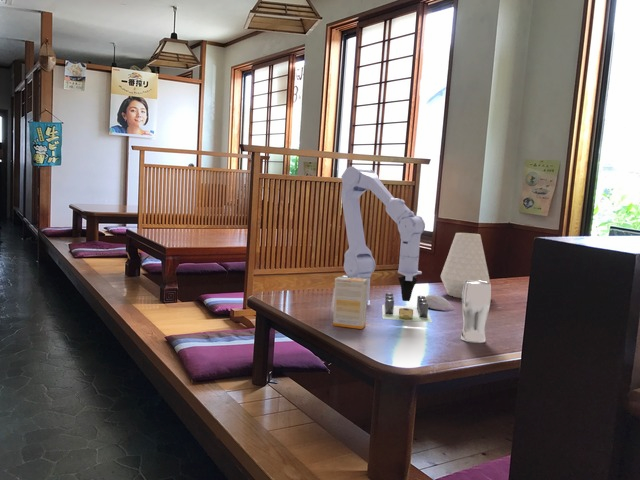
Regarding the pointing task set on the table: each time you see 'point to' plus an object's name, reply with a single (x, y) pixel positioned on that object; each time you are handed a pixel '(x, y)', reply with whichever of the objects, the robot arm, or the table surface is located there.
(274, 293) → the table surface
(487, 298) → the beer glass
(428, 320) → the field mat
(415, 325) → the table surface
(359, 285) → the supplement box
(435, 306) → the seashell
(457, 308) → the table surface
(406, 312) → the brass knob
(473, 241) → the vase
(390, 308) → the spacers
